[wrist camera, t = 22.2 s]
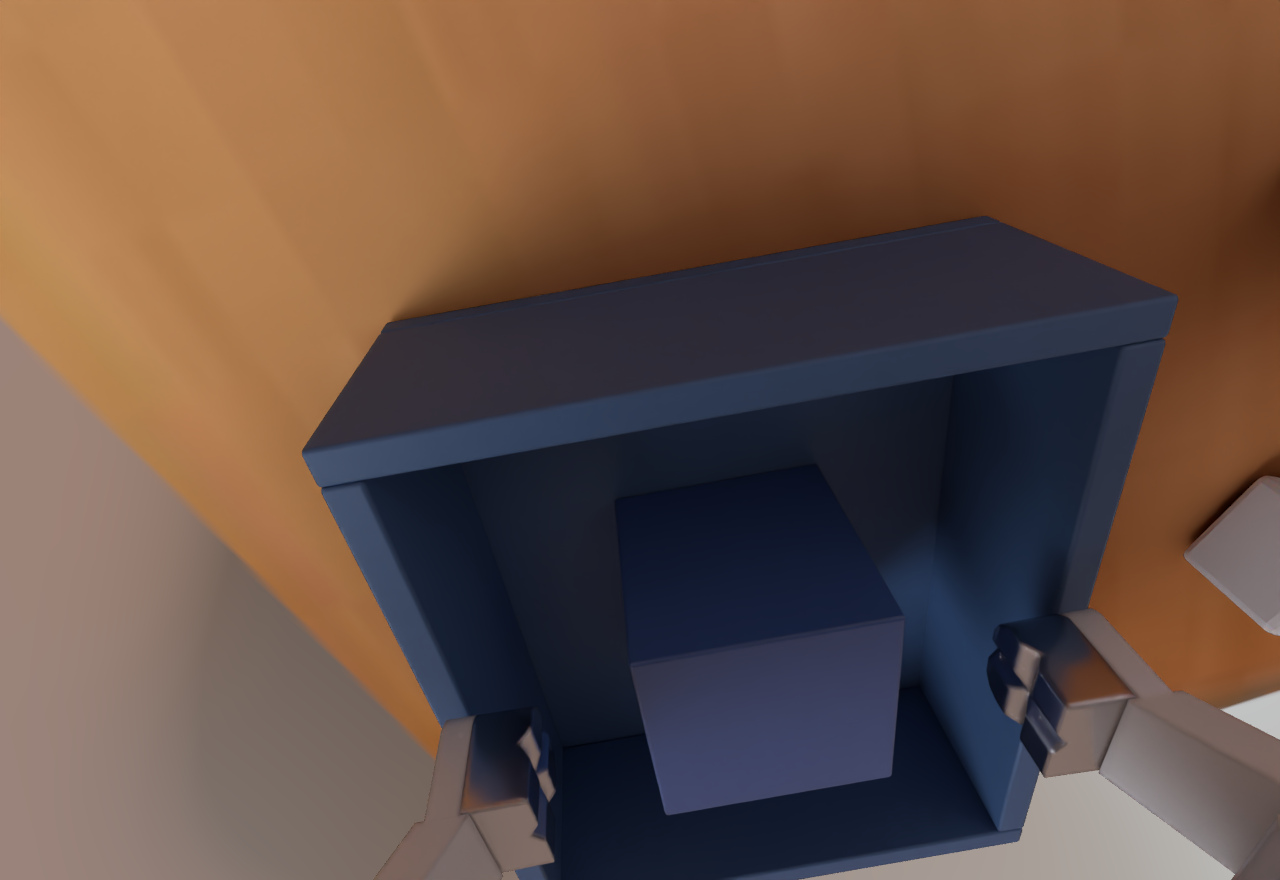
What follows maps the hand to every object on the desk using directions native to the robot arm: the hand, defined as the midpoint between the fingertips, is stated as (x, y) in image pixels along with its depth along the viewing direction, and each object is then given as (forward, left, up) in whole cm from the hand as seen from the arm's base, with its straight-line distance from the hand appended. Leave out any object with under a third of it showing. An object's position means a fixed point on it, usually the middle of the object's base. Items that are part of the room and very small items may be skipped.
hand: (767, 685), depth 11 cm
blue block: (+1, 0, -4) cm, 4 cm away
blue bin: (+1, 0, -5) cm, 5 cm away
